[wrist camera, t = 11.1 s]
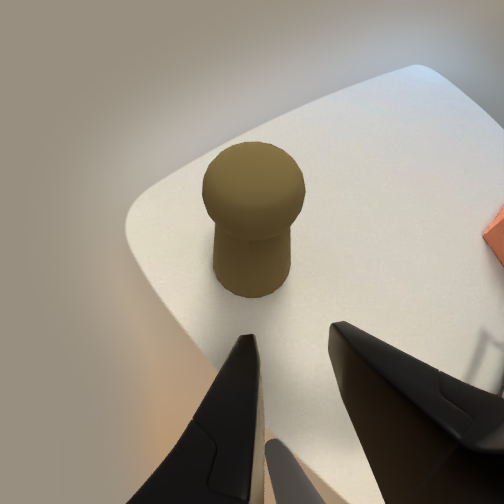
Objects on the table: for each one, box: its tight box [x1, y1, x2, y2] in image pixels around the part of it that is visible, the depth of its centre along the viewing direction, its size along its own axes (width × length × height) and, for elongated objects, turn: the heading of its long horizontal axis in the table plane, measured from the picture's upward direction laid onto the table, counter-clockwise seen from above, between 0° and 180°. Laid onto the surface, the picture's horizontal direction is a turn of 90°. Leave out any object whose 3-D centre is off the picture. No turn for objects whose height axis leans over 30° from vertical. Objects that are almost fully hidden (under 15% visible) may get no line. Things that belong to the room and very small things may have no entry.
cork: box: [202, 142, 306, 298], centre depth 19 cm, size 6×6×11 cm
